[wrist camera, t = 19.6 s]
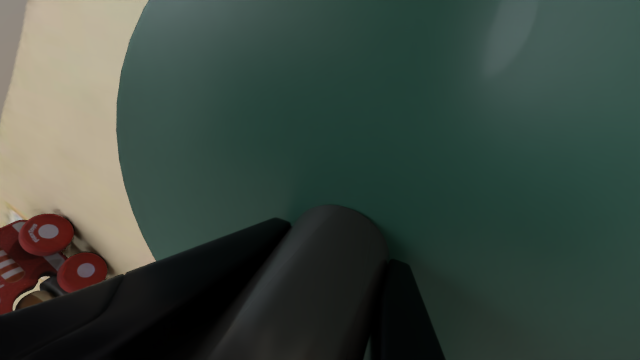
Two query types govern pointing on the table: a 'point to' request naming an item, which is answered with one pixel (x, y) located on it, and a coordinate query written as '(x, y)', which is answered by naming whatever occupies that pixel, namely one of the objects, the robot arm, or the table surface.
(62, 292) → the toy fire truck
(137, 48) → the pot lid
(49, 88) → the table surface
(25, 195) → the table surface
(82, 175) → the table surface
